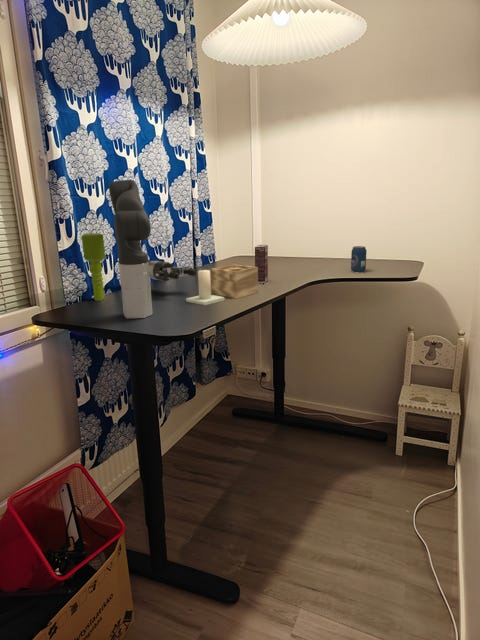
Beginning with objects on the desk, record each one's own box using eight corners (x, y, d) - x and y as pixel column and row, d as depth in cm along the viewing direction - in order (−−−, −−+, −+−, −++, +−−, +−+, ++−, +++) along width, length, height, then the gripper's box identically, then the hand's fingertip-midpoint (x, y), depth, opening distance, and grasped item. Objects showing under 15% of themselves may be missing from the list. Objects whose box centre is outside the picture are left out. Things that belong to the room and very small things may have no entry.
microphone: (103, 301, 167) (95, 234, 161) (85, 301, 169) (77, 234, 162) (113, 297, 175) (107, 232, 168) (96, 296, 177) (89, 232, 170)
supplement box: (265, 283, 193) (265, 246, 189) (254, 283, 194) (254, 246, 190) (268, 280, 201) (268, 244, 197) (257, 280, 202) (257, 244, 198)
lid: (224, 300, 166) (223, 270, 163) (204, 305, 158) (203, 274, 155) (205, 296, 172) (204, 267, 169) (186, 301, 165) (184, 271, 162)
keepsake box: (258, 292, 177) (257, 267, 174) (235, 298, 168) (235, 271, 165) (233, 288, 185) (233, 264, 183) (211, 293, 176) (210, 268, 173)
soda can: (347, 271, 219) (348, 246, 215) (359, 270, 221) (360, 245, 218) (356, 273, 212) (357, 248, 209) (368, 272, 215) (369, 247, 212)
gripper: (144, 263, 174) (171, 267, 163) (173, 259, 184) (200, 262, 173) (146, 282, 176) (172, 287, 165) (174, 277, 186) (200, 281, 175)
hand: (186, 274), depth 169 cm, fingers open, 8 cm apart
